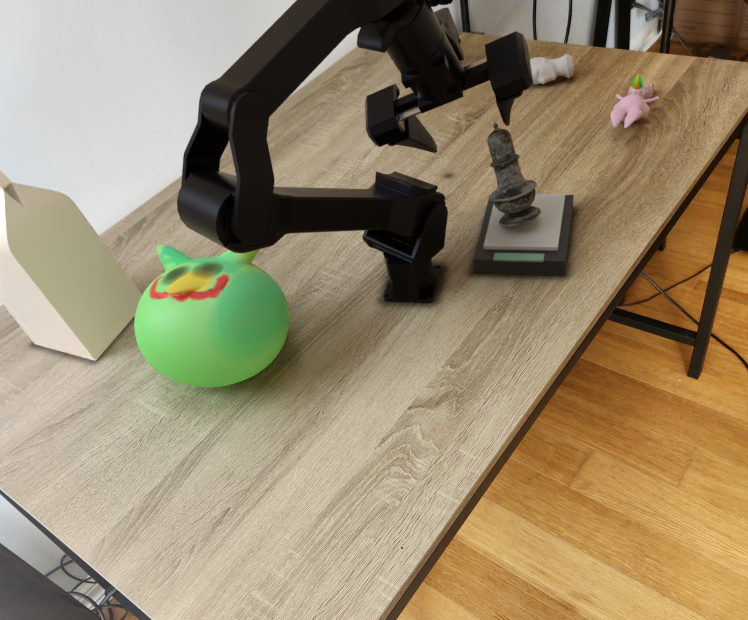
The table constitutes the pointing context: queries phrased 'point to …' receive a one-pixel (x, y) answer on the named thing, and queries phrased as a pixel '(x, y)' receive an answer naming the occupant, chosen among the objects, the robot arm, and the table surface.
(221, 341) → the toy bird
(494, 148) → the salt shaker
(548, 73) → the smooth white sculpture
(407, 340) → the table surface
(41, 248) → the milk
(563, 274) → the scale
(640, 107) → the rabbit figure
